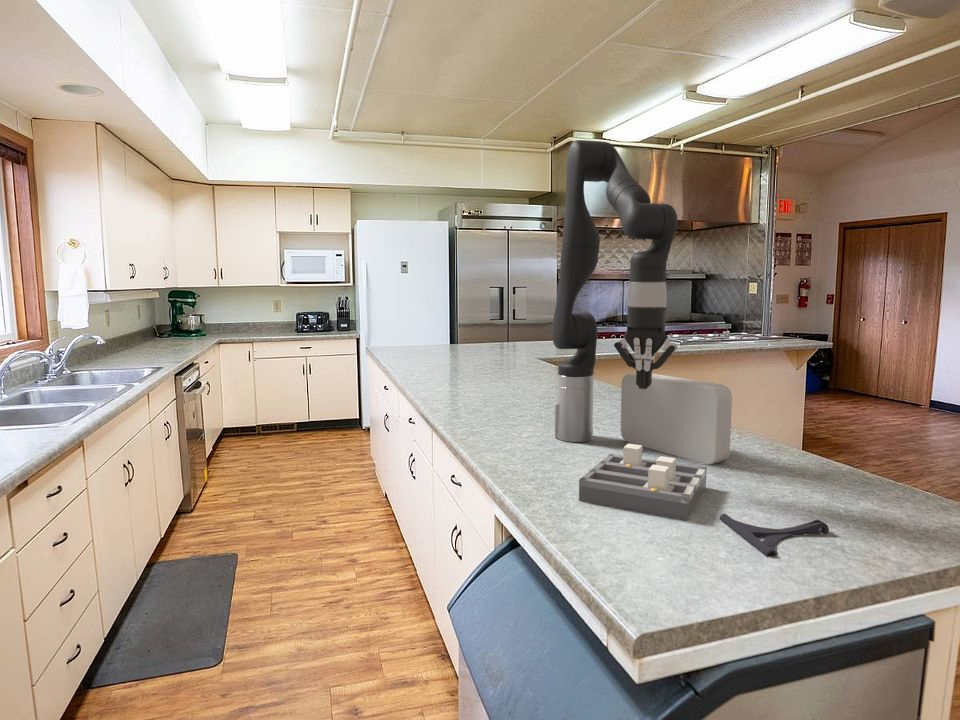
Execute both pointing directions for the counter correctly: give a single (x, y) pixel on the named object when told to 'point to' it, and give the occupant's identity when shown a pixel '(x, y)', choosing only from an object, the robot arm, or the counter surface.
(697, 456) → the grey block
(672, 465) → the switch middle
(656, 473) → the switch front
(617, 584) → the counter surface
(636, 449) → the switch back
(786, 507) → the counter surface
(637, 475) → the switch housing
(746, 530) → the bracket
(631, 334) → the robot arm
